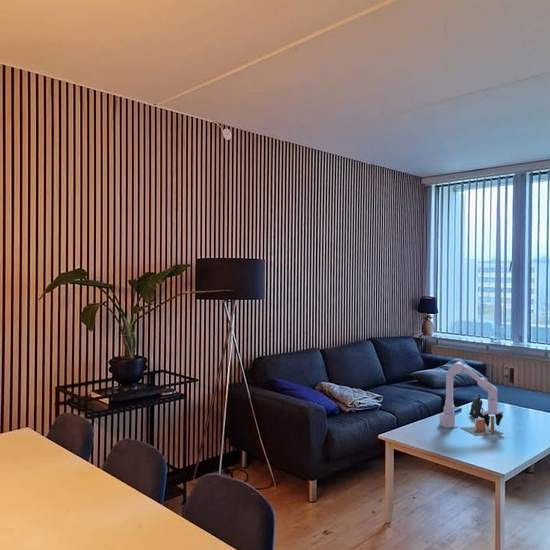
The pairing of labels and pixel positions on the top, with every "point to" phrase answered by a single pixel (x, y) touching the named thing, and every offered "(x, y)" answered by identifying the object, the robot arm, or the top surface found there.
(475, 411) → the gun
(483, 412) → the robot arm
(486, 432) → the mat
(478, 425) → the tile
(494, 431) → the tamper
